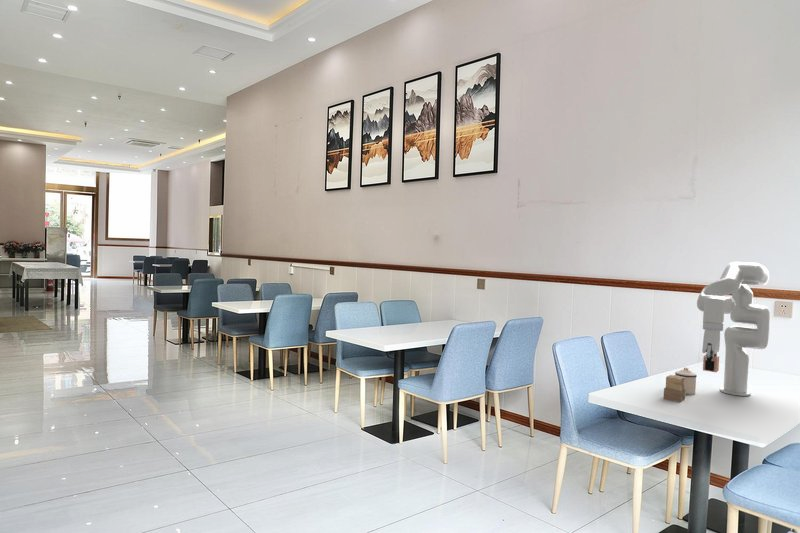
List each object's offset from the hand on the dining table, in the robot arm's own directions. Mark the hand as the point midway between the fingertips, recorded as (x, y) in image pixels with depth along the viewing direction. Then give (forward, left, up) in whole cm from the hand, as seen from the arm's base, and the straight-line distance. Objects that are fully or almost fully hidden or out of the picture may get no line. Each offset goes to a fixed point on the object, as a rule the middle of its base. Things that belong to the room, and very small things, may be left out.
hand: (710, 368), depth 233 cm
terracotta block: (0, 0, -1) cm, 1 cm away
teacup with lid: (-20, -15, -17) cm, 30 cm away
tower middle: (-3, -14, -11) cm, 18 cm away
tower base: (-2, -14, -16) cm, 22 cm away
